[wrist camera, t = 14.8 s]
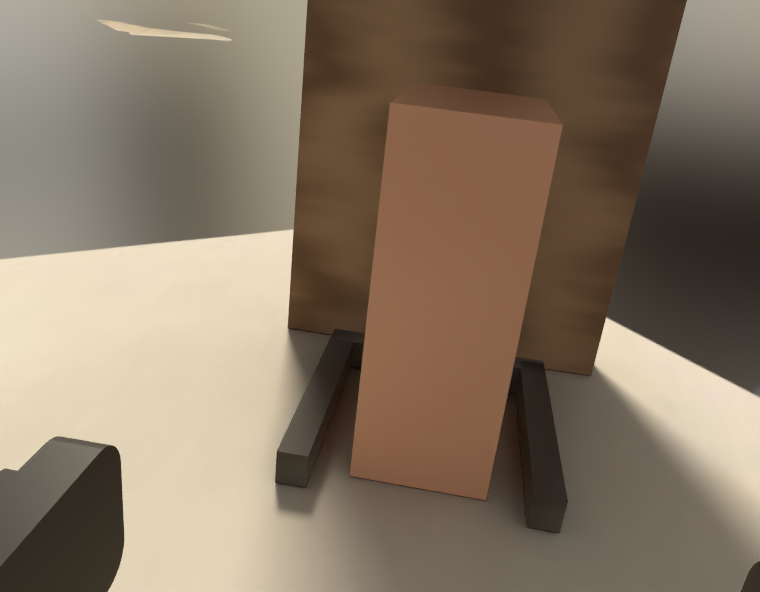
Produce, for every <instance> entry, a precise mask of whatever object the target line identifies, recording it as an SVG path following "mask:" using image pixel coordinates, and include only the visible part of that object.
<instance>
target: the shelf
mask: <svg viewBox="0 0 760 592" xmlns="http://www.w3.org/2000/svg"><path fill="white" fill-rule="evenodd" d="M686 1H687V0H308V4H307V5H308V6H307V22H306V38H305V53H304V70H303V87H302V104H301V119H300V136H299V153H298V170H297V185H296V203H295V218H294V219H295V220H294V235H293V251H292V268H291V284H290V301H289V317H288V328H292V329H299V330H305V331H311V332H318V333H324V334H330V335H332V336H331V338H330V340H329V342H328V344H327V346H326V349H325V351H324V353H323V355H322V357H321V359H320V361H319V363H318V365H317V368H316V370H315V372H314V374H313V376H312V378H311V380H310V382H309V384H308V387H307V389H306V391H305V393H304V395H303V397H302V399H301V401H300V403H299V406H298V408H297V410H296V412H295V414H294V416H293V418H292V420H291V422H290V425H289V427H288V429H287V431H286V433H285V435H284V437H283V439H282V442H281V444H280V446H279V448H278V450H277V459H276V476H275V482H276V483H282V484H287V485H293V486H299V487H304V488H306V486H307V483H308V480H309V478H310V475H311V472H312V470H313V467H314V464H315V462H316V459H317V457H318V454H319V451H320V449H321V446H322V443H323V441H324V438H325V435H326V433H327V430H328V427H329V425H330V422H331V419H332V417H333V414H334V411H335V409H336V406H337V403H338V401H339V398H340V395H341V393H342V390H343V387H344V385H345V382H346V379H347V377H348V374H349V371H350V369H351V367H354V368H360V369H361V366H362V357H363V348H364V339H365V330H366V320H367V311H368V302H369V293H370V283H371V274H372V265H373V256H374V247H375V237H376V228H377V219H378V210H379V201H380V191H381V182H382V173H383V164H384V155H385V145H386V136H387V127H388V118H389V109H390V102H391V101H392V100H394V99H395V98H396V97H397V96H398V95H399V94H400V93H402V92H403V91H404V90H405V89H406V88H407V87H408V86H409V85H411V84H412V83H413V82H415V83H423V84H431V85H439V86H447V87H455V88H463V89H471V90H479V91H487V92H495V93H503V94H511V95H518V96H526V97H534V98H542V99H546V100H547V102H548V103H549V105H550V106H551V108H552V109H553V111H554V112H555V114H556V115H557V117H558V118H559V120H560V121H561V123H562V124H563V127H562V132H561V137H560V142H559V146H558V151H557V156H556V161H555V166H554V171H553V176H552V181H551V186H550V190H549V195H548V200H547V205H546V210H545V215H544V220H543V225H542V230H541V234H540V239H539V244H538V249H537V254H536V259H535V264H534V269H533V274H532V278H531V283H530V288H529V293H528V298H527V303H526V308H525V313H524V318H523V322H522V327H521V332H520V337H519V342H518V347H517V352H516V357H515V362H514V366H513V371H512V376H511V381H510V386H509V391H508V392H509V393H515V394H516V404H517V416H518V428H519V440H520V452H521V464H522V476H523V487H524V499H525V511H526V523H527V527H529V528H535V529H540V530H546V531H552V532H557V533H560V529H561V525H562V521H563V517H564V513H565V510H566V506H567V502H568V501H567V495H566V489H565V484H564V478H563V472H562V466H561V460H560V455H559V449H558V443H557V437H556V431H555V425H554V420H553V414H552V408H551V402H550V396H549V391H548V385H547V379H546V373H545V368H546V369H552V370H558V371H565V372H571V373H577V374H584V375H590V376H591V374H592V370H593V366H594V362H595V358H596V354H597V350H598V346H599V343H600V339H601V335H602V331H603V327H604V323H605V319H606V315H607V311H608V307H609V303H610V299H611V295H612V291H613V288H614V284H615V280H616V276H617V272H618V268H619V264H620V260H621V256H622V252H623V248H624V244H625V241H626V237H627V233H628V228H629V225H630V221H631V217H632V213H633V209H634V205H635V201H636V197H637V193H638V190H639V186H640V182H641V178H642V174H643V170H644V166H645V162H646V158H647V154H648V150H649V146H650V143H651V138H652V135H653V131H654V127H655V123H656V119H657V115H658V111H659V107H660V103H661V99H662V95H663V92H664V87H665V84H666V80H667V76H668V72H669V68H670V64H671V60H672V56H673V52H674V48H675V44H676V40H677V37H678V32H679V29H680V24H681V21H682V17H683V13H684V9H685V5H686Z"/></svg>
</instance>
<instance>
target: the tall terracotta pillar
mask: <svg viewBox="0 0 760 592" xmlns="http://www.w3.org/2000/svg"><path fill="white" fill-rule="evenodd" d="M562 127H563V124H562V123H561V121H560V120H559V118H558V117H557V115H556V114H555V112H554V111H553V109H552V108H551V106H550V105H549V103H548V102H547V100H546V99H542V98H534V97H526V96H518V95H511V94H503V93H495V92H487V91H479V90H471V89H463V88H455V87H447V86H439V85H431V84H423V83H415V82H413V83H412V84H411V85H409V86H408V87H407V88H406V89H405V90H404V91H403V92H402V93H400V94H399V95H398V96H397V97H396V98H395V99H394V100H392V101H391V102H390V109H389V118H388V127H387V136H386V145H385V155H384V164H383V173H382V182H381V191H380V201H379V210H378V219H377V228H376V237H375V247H374V256H373V265H372V274H371V283H370V293H369V302H368V311H367V320H366V330H365V339H364V348H363V357H362V366H361V376H360V385H359V394H358V403H357V412H356V422H355V431H354V440H353V449H352V458H351V468H350V476H353V477H359V478H365V479H370V480H376V481H381V482H387V483H392V484H398V485H403V486H409V487H414V488H420V489H426V490H431V491H437V492H442V493H448V494H453V495H459V496H464V497H470V498H475V499H481V500H486V498H487V494H488V489H489V484H490V479H491V474H492V469H493V464H494V459H495V454H496V450H497V445H498V440H499V435H500V430H501V425H502V420H503V415H504V410H505V406H506V401H507V396H508V391H509V386H510V381H511V376H512V371H513V366H514V362H515V357H516V352H517V347H518V342H519V337H520V332H521V327H522V322H523V318H524V313H525V308H526V303H527V298H528V293H529V288H530V283H531V278H532V274H533V269H534V264H535V259H536V254H537V249H538V244H539V239H540V234H541V230H542V225H543V220H544V215H545V210H546V205H547V200H548V195H549V190H550V186H551V181H552V176H553V171H554V166H555V161H556V156H557V151H558V146H559V142H560V137H561V132H562Z"/></svg>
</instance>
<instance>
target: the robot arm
mask: <svg viewBox="0 0 760 592" xmlns="http://www.w3.org/2000/svg"><path fill="white" fill-rule="evenodd" d="M123 547H124V522H123V500H122V478H121V460H120V454H119V451H118V449H117V448H116V447H114V446H112V445H106V444H100V443H95V442H89V441H83V440H77V439H72V438H66V437H54V438H52V439H50V440H49V441H48V442H47V443H46V444H45V445H44V446H42V447H41V448H40V449H39V450H38V451H37V452H36V453H35V454H34V455H33V456H32V457H31V458H30V459H29V460H28V461H27V462H26V463H25V464H24V465H23V466H22V467H21V468H20V469H19V470H18V471H15V470H10V469H3V470H1V471H0V592H108V590H109V588H110V587H111V585H112V583H113V581H114V578H115V576H116V574H117V571H118V568H119V565H120V561H121V558H122V553H123ZM741 592H760V561H759V562H757V563H756V564H755V565H753V567H752V568H751V569H750V571H749V573H748V576H747V578H746V581H745V583H744V586H743V588H742V590H741Z"/></svg>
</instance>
